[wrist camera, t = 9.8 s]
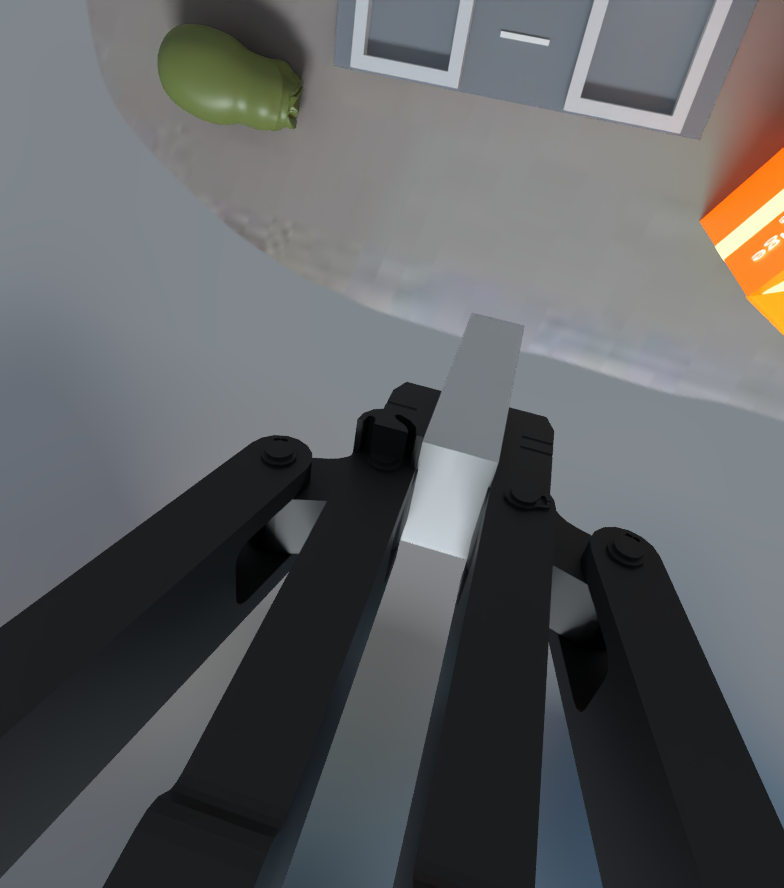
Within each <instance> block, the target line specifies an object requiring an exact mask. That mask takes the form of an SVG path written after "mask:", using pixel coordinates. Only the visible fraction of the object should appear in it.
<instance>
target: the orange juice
mask: <svg viewBox="0 0 784 888" xmlns="http://www.w3.org/2000/svg"><path fill="white" fill-rule="evenodd" d="M700 223H701V224H702V226H703V227H704V229H705V231H706V232H707V234H708V235H709V237H710V238H711V240H712V242H713V243H714V245H715V248H716V250H717V251H718V253H719V254H720V256H721V258H722V259H723V260H724V261H725V262H726V264H727V265H728V267H729V268H730V270H731V272H732V273H733V275H734V276H735V278H736V280H737V281H738V283H739V284H740V286H741V287H742V289H743V291H744V292H745V294H746V295H747V297H746V298H747V299H748V300H749V301H750V302H751V303H752V304H753V305H754V306H755V307H756V308H757V309H758V310H759V311H760V312H761V313H762V314H763V315H764V316H765V317H766V318H767V319H768V320H769V321H770V322H771V323H772V324H773V325H774V326H775V327H776V328H777V329H778V330H779V331H780V332H781V333H782V334H783V335H784V148H782V149H781V150H780V151H779V152H778V153H777V154H776V155H774V156H773V157H772V158H771V159H770V160H769V161H768V162H766V163H765V164H764V165H763V166H762V167H761V168H760V169H759V170H757V171H756V172H755V173H754V174H753V175H752V176H751V177H749V178H748V179H747V180H746V181H745V182H744V183H743V184H741V185H740V186H739V187H738V188H737V189H736V190H735V191H733V192H732V193H731V194H730V195H729V196H728V197H727V198H726V199H724V200H723V201H722V202H721V203H720V204H719V205H718V206H716V207H715V208H714V209H713V210H712V211H711V212H710V213H708V214H707V215H706V216H705V217H704V218H703V219H702V220H700Z"/></svg>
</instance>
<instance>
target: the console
mask: <svg viewBox="0 0 784 888" xmlns="http://www.w3.org/2000/svg"><path fill="white" fill-rule="evenodd" d="M757 2H758V0H339V1H338V14H337V27H336V40H335V54H334V66H337V67H342V68H346V69H351V70H356V71H361V72H366V73H371V74H376V75H381V76H386V77H391V78H396V79H401V80H406V81H411V82H415V83H420V84H425V85H430V86H435V87H440V88H445V89H450V90H455V91H460V92H465V93H470V94H475V95H480V96H484V97H489V98H494V99H499V100H504V101H509V102H514V103H519V104H524V105H529V106H534V107H539V108H544V109H549V110H553V111H558V112H563V113H568V114H573V115H578V116H583V117H588V118H593V119H598V120H603V121H608V122H613V123H618V124H622V125H627V126H632V127H637V128H642V129H647V130H652V131H657V132H662V133H667V134H672V135H677V136H682V137H687V138H691V139H696V140H700V138H701V136H702V134H703V131H704V129H705V126H706V124H707V122H708V119H709V117H710V114H711V112H712V110H713V107H714V105H715V102H716V100H717V98H718V95H719V93H720V90H721V88H722V86H723V83H724V81H725V78H726V76H727V74H728V71H729V69H730V66H731V64H732V62H733V59H734V57H735V54H736V52H737V50H738V47H739V45H740V42H741V40H742V38H743V35H744V33H745V30H746V28H747V26H748V23H749V21H750V18H751V16H752V14H753V11H754V9H755V6H756V4H757Z"/></svg>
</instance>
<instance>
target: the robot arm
mask: <svg viewBox="0 0 784 888" xmlns="http://www.w3.org/2000/svg"><path fill="white" fill-rule="evenodd" d="M523 331H524V325H519V324H515V323H511V322H507V321H503V320H499V319H495V318H491V317H487V316H483V315H479V314H475V313H472V314H471V316H470V319H469V322H468V324H467V327H466V330H465V332H464V335H463V337H462V340H461V343H460V345H459V348H458V350H457V353H456V356H455V358H454V361H453V363H452V366H451V369H450V371H449V374H448V377H447V379H446V382H445V384H444V387H443V389H442V391H439V390H435V389H431V388H428V387H424V386H420V385H416V384H413V383H409V382H406V383H404V384H403V385H401V386H399V387H398V388H396V389H394V390H393V392H392V394H391V396H390V398H389V400H388V402H387V404H386V405H385V407H384V409H373V410H371V411H368V412H365V413H363V414H362V415H361V416H360V417H359V418H358V420H357V428H356V435H355V442H354V449H353V453H352V455H351V456H349V457H344V458H339V459H323V458H312V452H311V451H310V449H309V447H308V446H307V445H306V444H304V443H303V442H301V441H300V440H298V439H295V438H292V437H289V436H278V435H273V436H268V437H263V438H260V439H258V440H256V441H254V442H252V443H251V444H250V445H248V446H247V447H245V448H244V449H243V450H241V451H240V452H239V453H237V454H236V455H234V456H233V457H232V458H230V459H229V460H228V461H226V462H225V463H224V464H222V465H221V466H219V467H218V468H217V469H215V470H214V471H213V472H211V473H210V474H209V475H207V476H206V477H205V478H203V479H202V480H201V481H199V482H198V483H196V484H195V485H194V486H192V487H191V488H190V489H188V490H187V491H186V492H184V493H183V494H181V495H180V496H179V497H177V498H176V499H175V500H173V501H172V502H171V503H169V504H168V505H166V506H165V507H164V508H162V509H161V510H160V511H158V512H157V513H156V514H154V515H153V516H152V517H150V518H149V519H147V520H146V521H145V522H143V523H142V524H141V525H139V526H138V527H136V528H135V529H134V530H132V531H131V532H130V533H128V534H127V535H126V536H124V537H123V538H122V539H120V540H119V541H118V542H116V543H115V544H113V545H112V546H111V547H109V548H108V549H107V550H105V551H104V552H102V553H101V554H100V555H98V556H97V557H96V558H94V559H93V560H92V561H90V562H89V563H88V564H86V565H85V566H83V567H82V568H81V569H79V570H78V571H77V572H75V573H74V574H73V575H71V576H70V577H68V578H67V579H66V580H64V581H63V582H62V583H60V584H59V585H58V586H56V587H55V588H53V589H52V590H51V591H50V592H48V593H47V594H45V595H44V596H43V597H41V598H40V599H39V600H38V601H36V602H34V603H33V604H32V605H30V606H29V607H28V608H26V609H25V610H24V611H22V612H21V613H19V614H18V615H17V616H15V617H14V618H13V619H11V620H10V621H9V622H7V623H6V624H4V625H3V626H2V627H0V878H1V877H2V876H3V875H4V874H5V873H6V872H7V871H8V869H9V868H10V867H11V866H12V865H13V864H14V863H15V862H16V861H17V860H18V859H19V858H20V857H21V856H22V855H23V854H24V852H25V851H26V850H27V849H28V848H29V847H30V846H31V845H32V844H33V843H34V842H35V841H36V840H37V839H38V838H39V837H40V836H41V834H42V833H43V832H44V831H45V830H46V829H47V828H48V827H49V826H50V825H51V824H52V823H53V822H54V821H55V819H57V817H58V816H59V815H60V814H61V813H62V812H63V811H64V810H65V809H66V808H67V807H68V806H69V805H70V804H71V803H72V801H73V800H74V799H75V798H76V797H77V796H78V795H79V794H80V793H81V792H82V791H83V790H84V789H85V788H86V787H87V786H88V785H89V783H90V782H91V781H92V780H93V779H94V778H95V777H96V776H97V775H98V774H99V773H100V772H101V771H102V770H103V768H104V767H106V765H107V764H108V763H109V762H110V761H111V760H112V759H113V758H114V757H115V756H116V755H117V754H118V753H119V752H120V751H121V749H122V748H123V747H124V746H125V745H126V744H127V743H128V742H129V741H130V740H131V739H132V738H133V737H134V736H135V735H136V734H137V733H138V731H139V730H140V729H141V728H142V727H143V726H144V725H145V724H146V723H147V722H148V721H149V720H150V719H151V718H152V717H153V715H154V714H155V713H156V712H157V711H158V710H159V709H160V708H161V707H162V706H163V705H164V704H165V703H166V702H167V701H168V700H169V698H171V696H172V695H173V694H174V693H175V692H176V691H177V690H178V689H179V688H180V687H181V686H182V685H183V684H184V683H185V682H186V681H187V679H188V678H189V677H190V676H191V675H192V674H193V673H194V672H195V671H196V670H197V669H198V668H199V667H200V666H201V665H202V664H203V662H204V661H205V660H206V659H207V658H208V657H209V656H210V655H211V654H212V653H213V652H214V651H215V650H216V649H217V648H218V647H219V645H220V644H221V643H222V642H223V641H224V640H225V639H226V638H227V637H228V636H229V635H230V634H231V633H232V632H233V631H234V630H235V628H236V627H237V626H238V625H239V624H240V623H241V622H242V621H243V620H244V619H245V618H246V617H247V616H248V615H249V614H250V613H251V611H252V610H253V609H254V608H255V607H256V606H257V605H258V604H259V603H260V602H261V601H262V600H263V599H264V598H265V597H266V596H267V594H268V593H269V592H270V591H271V590H272V589H273V588H274V587H275V586H276V585H277V584H278V583H279V582H280V581H281V580H282V578H284V576H285V575H286V574H287V573H288V572H289V573H288V575H287V577H286V579H285V581H284V583H283V585H282V586H281V588H280V590H279V592H278V594H277V596H276V598H275V600H274V601H273V603H272V605H271V607H270V609H269V611H268V613H267V615H266V616H265V618H264V620H263V622H262V624H261V626H260V628H259V630H258V631H257V633H256V635H255V637H254V639H253V641H252V643H251V645H250V646H249V648H248V650H247V652H246V654H245V656H244V658H243V660H242V661H241V664H240V665H239V667H238V669H237V671H236V673H235V675H234V676H233V678H232V681H231V682H230V684H229V686H228V688H227V690H226V692H225V693H224V695H223V697H222V699H221V701H220V703H219V705H218V706H217V708H216V710H215V712H214V714H213V716H212V718H211V720H210V722H209V723H208V725H207V727H206V729H205V731H204V733H203V735H202V737H201V739H200V741H199V742H198V744H197V746H196V748H195V750H194V752H193V753H192V755H191V757H190V759H189V761H188V763H187V765H186V766H185V768H184V770H183V772H182V774H181V775H180V777H179V779H178V780H177V782H176V783H175V785H174V786H173V787H172V788H171V790H169V791H167V792H165V793H164V794H162V795H160V796H158V797H157V799H156V800H155V801H154V802H153V803H152V804H151V806H150V807H149V808H148V809H147V811H146V812H145V814H144V816H143V817H142V819H141V820H140V822H139V823H138V825H137V827H136V828H135V830H134V832H133V834H132V836H131V837H130V839H129V841H128V843H127V844H126V846H125V848H124V850H123V852H122V853H121V855H120V857H119V859H118V861H117V862H116V864H115V866H114V868H113V870H112V871H111V873H110V875H109V877H108V879H107V880H106V882H105V884H104V886H103V888H282V886H283V883H284V881H285V877H286V875H287V872H288V869H289V866H290V863H291V860H292V857H293V854H294V852H295V848H296V846H297V843H298V840H299V837H300V834H301V831H302V828H303V826H304V823H305V820H306V817H307V814H308V811H309V808H310V805H311V802H312V799H313V797H314V794H315V791H316V788H317V785H318V782H319V779H320V776H321V773H322V770H323V768H324V765H325V762H326V759H327V756H328V753H329V750H330V747H331V744H332V742H333V739H334V735H335V733H336V730H337V727H338V724H339V721H340V718H341V715H342V713H343V710H344V707H345V704H346V701H347V698H348V695H349V692H350V689H351V686H352V684H353V681H354V678H355V675H356V672H357V669H358V666H359V663H360V660H361V657H362V655H363V652H364V649H365V646H366V643H367V640H368V637H369V634H370V631H371V629H372V626H373V622H374V620H375V617H376V614H377V611H378V608H379V605H380V603H381V600H382V597H383V594H384V591H385V587H386V585H387V582H388V579H389V576H390V574H391V571H392V568H393V565H394V562H395V559H396V555H397V551H398V546H399V541H400V539H401V540H402V541H406V542H409V543H412V544H416V545H419V546H422V547H426V548H429V549H432V550H436V551H440V552H443V553H446V554H449V555H453V556H456V557H459V558H463V559H467V562H466V565H465V568H464V571H463V574H462V577H461V580H460V583H459V586H458V589H457V593H456V596H455V599H454V601H456V604H455V609H454V613H453V618H452V623H451V627H450V631H449V636H448V640H447V645H446V650H445V654H444V658H443V663H442V667H441V672H440V676H439V682H438V686H437V690H436V695H435V699H434V704H433V708H432V713H431V717H430V722H429V726H428V731H427V735H426V740H425V744H424V749H423V753H422V758H421V762H420V767H419V771H418V776H417V781H416V785H415V790H414V794H413V798H412V803H411V807H410V812H409V816H408V821H407V826H406V830H405V835H404V839H403V843H402V848H401V853H400V857H399V862H398V866H397V871H396V875H395V880H394V884H393V888H535V874H536V856H537V838H538V820H539V803H540V785H541V767H542V749H543V731H544V713H545V695H546V677H547V659H548V642H549V645H550V649H551V654H552V658H553V662H554V667H555V672H556V677H557V681H558V685H559V690H560V695H561V699H562V703H563V708H564V713H565V717H566V722H567V727H568V731H569V735H570V740H571V745H572V749H573V754H574V758H575V763H576V767H577V772H578V776H579V781H580V786H581V790H582V794H583V799H584V803H585V808H586V812H587V817H588V822H589V826H590V831H591V835H592V840H593V844H594V849H595V854H596V858H597V863H598V867H599V872H600V876H601V881H602V885H603V888H784V829H783V827H782V825H781V823H780V820H779V818H778V816H777V814H776V812H775V809H774V807H773V805H772V803H771V801H770V798H769V796H768V794H767V792H766V789H765V787H764V785H763V783H762V781H761V778H760V776H759V774H758V772H757V770H756V768H755V765H754V763H753V761H752V758H751V756H750V754H749V752H748V750H747V747H746V745H745V743H744V741H743V739H742V736H741V734H740V732H739V730H738V728H737V725H736V723H735V721H734V719H733V717H732V714H731V712H730V710H729V708H728V705H727V703H726V701H725V699H724V697H723V694H722V692H721V690H720V688H719V686H718V684H717V681H716V679H715V677H714V675H713V672H712V670H711V668H710V666H709V664H708V661H707V659H706V657H705V655H704V653H703V650H702V648H701V646H700V644H699V642H698V640H697V637H696V635H695V633H694V631H693V628H692V626H691V624H690V622H689V620H688V617H687V615H686V613H685V611H684V608H683V606H682V604H681V602H680V600H679V597H678V595H677V593H676V591H675V589H674V586H673V584H672V582H671V580H670V577H669V575H668V573H667V571H666V569H665V566H664V564H663V562H662V560H661V558H660V556H659V554H658V553H657V552H656V550H655V549H654V547H653V546H652V545H651V544H650V543H648V542H647V541H646V540H645V539H643V538H642V537H641V536H638V535H637V534H635V533H633V532H631V531H629V530H625V529H621V528H617V527H604V528H601V529H599V530H597V531H595V532H594V533H593V535H592V536H591V535H590V534H587V533H586V532H584V531H582V530H580V529H578V528H576V527H575V526H573V525H572V524H570V523H568V522H567V521H566V520H565V519H563V518H562V517H561V516H560V515H559V514H558V512H557V511H556V507H555V502H554V499H553V498H552V497H551V495H550V486H551V470H552V455H553V440H554V430H553V428H552V427H551V425H550V423H549V421H548V419H547V418H546V417H544V416H540V415H536V414H532V413H529V412H525V411H521V410H517V409H513V408H510V407H509V404H510V399H511V394H512V389H513V384H514V378H515V373H516V368H517V362H518V357H519V352H520V347H521V341H522V336H523Z"/></svg>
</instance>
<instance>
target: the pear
mask: <svg viewBox="0 0 784 888" xmlns="http://www.w3.org/2000/svg"><path fill="white" fill-rule="evenodd" d="M158 73H159V77H160V81H161V84H162V86H163V88H164V90H165V92H166V93H167V95H168V96H169V97H170V98H171V100H172V101H173V102H174V103H175V104H177V105H178V106H179V107H180V108H182V109H183V110H185V111H186V112H188V113H190V114H192V115H193V116H195V117H197V118H200V119H202V120H204V121H207V122H210V123H214V124H219V125H231V124H243V125H246V126H249V127H252V128H255V129H258V130H271V131H277V130H280V129H281V128H283V127H287V128H290V129H295V128H296V124H297V121H296V120H295V119H296V118H297V113H298V111H299V104H300V103H299V99H300V97H301V95H300V94H301V92H302V91H303V87H302V80H301V79H300V78H299V77H298V75H297V74H296V73H295V72H293V71H292V69H291V67H290V65H289V64H288V63H286V62H285V61H283V60H280V59H269V58H266V57H263V56H261V55H258V54H256V53H253V52H251V51H249V50H248V49H247V48H245V47H244V46H243V45H242V44H241V43H240V42H239V41H237V40H236V39H235V38H233V37H232V36H230V35H228V34H226V33H224V32H222V31H220V30H218V29H215V28H212V27H209V26H205V25H200V24H183V25H179V26H177V27H175V28H173V29H172V30H171V31H169V32H168V33H167V35H166V36H165V37H164V39H163V41H162V43H161V46H160V49H159V53H158ZM299 95H300V97H299Z"/></svg>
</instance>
